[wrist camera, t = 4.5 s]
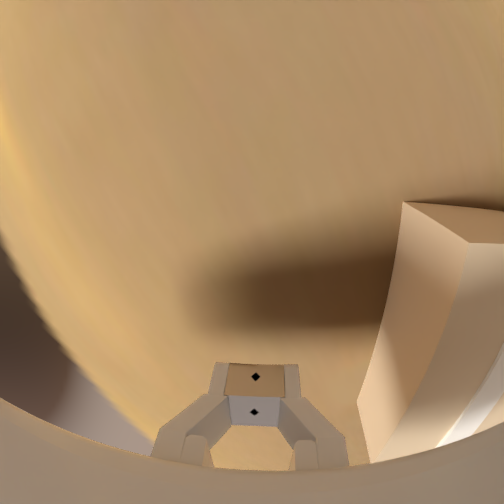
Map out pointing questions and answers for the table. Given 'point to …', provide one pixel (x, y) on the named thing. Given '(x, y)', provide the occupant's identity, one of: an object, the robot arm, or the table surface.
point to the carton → (438, 334)
